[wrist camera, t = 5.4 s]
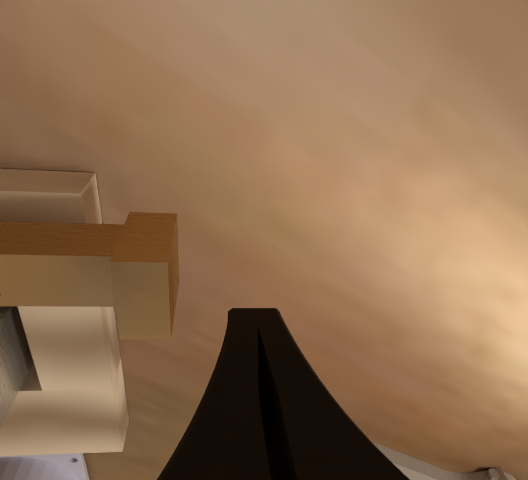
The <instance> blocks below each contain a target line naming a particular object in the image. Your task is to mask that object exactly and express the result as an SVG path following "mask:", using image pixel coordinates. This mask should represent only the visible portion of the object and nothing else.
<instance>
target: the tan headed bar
mask: <svg viewBox="0 0 528 480" xmlns="http://www.w3.org/2000/svg"><path fill="white" fill-rule="evenodd" d="M178 287H179V262H178V226H177V214H173V213H142V212H129V215H128V217H127V220H126V222H125V224H124V225H119V224H84V223H49V222H14V221H0V306H52V307H115V308H116V316H117V323H118V331H119V338H120V340H171V337H172V330H173V323H174V315H175V308H176V301H177V294H178Z"/></svg>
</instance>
